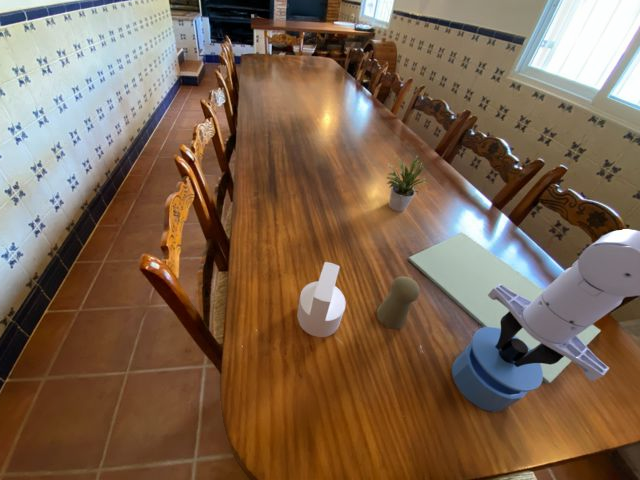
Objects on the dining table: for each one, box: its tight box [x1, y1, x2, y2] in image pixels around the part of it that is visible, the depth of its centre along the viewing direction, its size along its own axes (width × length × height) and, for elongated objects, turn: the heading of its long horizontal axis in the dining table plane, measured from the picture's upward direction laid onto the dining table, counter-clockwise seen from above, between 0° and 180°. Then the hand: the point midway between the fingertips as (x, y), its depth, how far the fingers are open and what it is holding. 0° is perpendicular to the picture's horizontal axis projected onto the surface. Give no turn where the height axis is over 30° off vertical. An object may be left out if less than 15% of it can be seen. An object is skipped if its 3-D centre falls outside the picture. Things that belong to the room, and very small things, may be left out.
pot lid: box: [471, 327, 543, 393], centre depth 47 cm, size 10×10×5 cm
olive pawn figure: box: [376, 275, 420, 330], centre depth 60 cm, size 6×6×11 cm
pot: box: [451, 342, 529, 413], centre depth 52 cm, size 10×10×6 cm
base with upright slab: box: [296, 261, 347, 338], centre depth 58 cm, size 9×9×12 cm
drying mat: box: [407, 231, 602, 385], centre depth 70 cm, size 34×22×1 cm, turn 30°
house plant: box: [385, 153, 431, 212], centre depth 90 cm, size 14×14×16 cm
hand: (509, 354), depth 47 cm, fingers closed on pot lid, 2 cm apart
